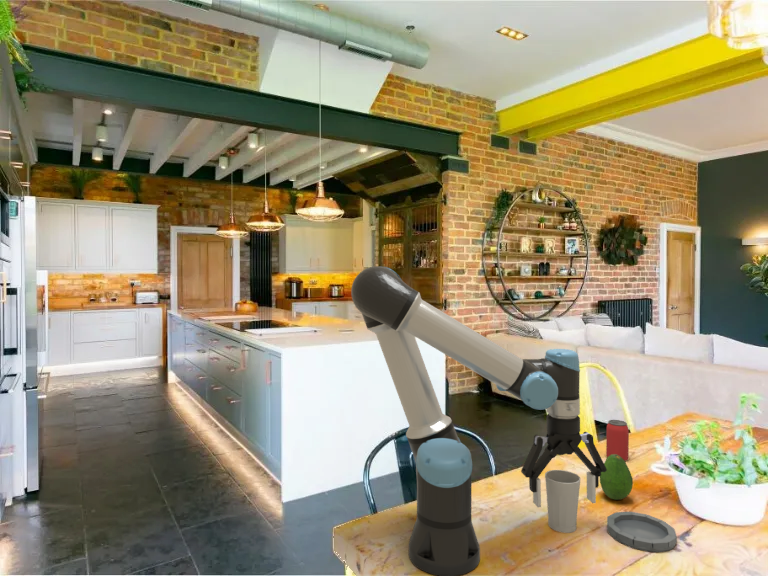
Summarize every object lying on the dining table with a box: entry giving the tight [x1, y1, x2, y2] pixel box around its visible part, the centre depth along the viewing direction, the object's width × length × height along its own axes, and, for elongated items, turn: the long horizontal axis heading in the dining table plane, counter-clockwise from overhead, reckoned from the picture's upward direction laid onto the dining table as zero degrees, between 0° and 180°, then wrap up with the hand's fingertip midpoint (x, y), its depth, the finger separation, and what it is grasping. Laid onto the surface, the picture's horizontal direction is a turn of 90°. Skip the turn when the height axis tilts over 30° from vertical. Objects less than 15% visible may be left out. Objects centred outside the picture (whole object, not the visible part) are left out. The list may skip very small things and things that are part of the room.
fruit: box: [599, 454, 634, 501], centre depth 131 cm, size 8×8×12 cm
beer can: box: [605, 419, 630, 462], centre depth 160 cm, size 7×7×12 cm
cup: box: [544, 469, 581, 534], centre depth 117 cm, size 8×8×12 cm
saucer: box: [606, 511, 678, 553], centre depth 113 cm, size 14×14×2 cm
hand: (564, 502), depth 117 cm, fingers open, 13 cm apart
